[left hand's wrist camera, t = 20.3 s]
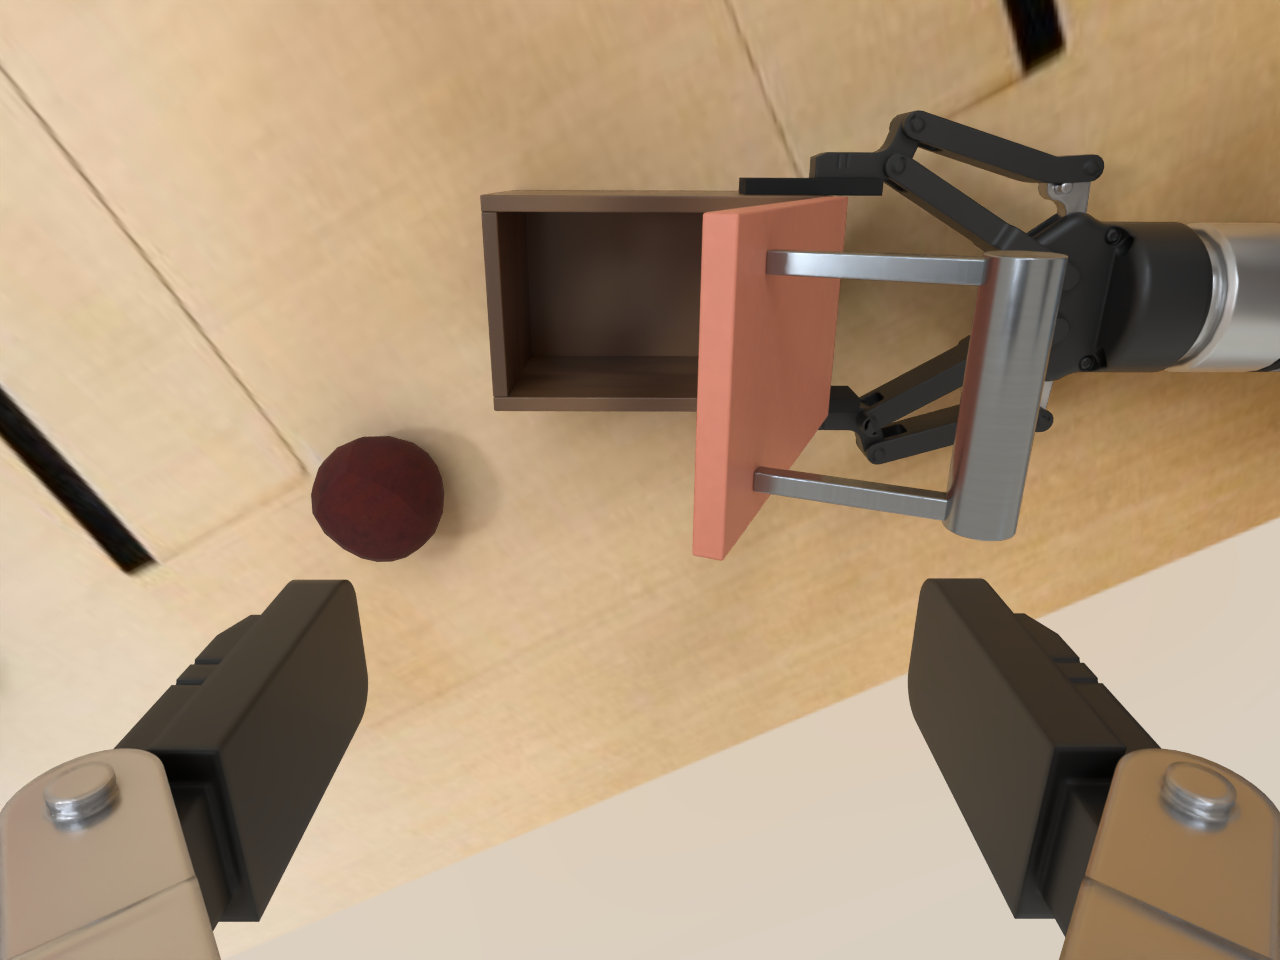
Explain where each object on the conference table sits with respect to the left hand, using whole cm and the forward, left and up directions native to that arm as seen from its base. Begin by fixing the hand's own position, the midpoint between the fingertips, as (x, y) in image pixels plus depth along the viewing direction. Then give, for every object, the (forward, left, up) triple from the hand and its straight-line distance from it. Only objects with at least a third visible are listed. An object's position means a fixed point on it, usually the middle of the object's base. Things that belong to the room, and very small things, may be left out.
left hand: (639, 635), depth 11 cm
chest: (-1, 0, -38) cm, 38 cm away
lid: (-3, +4, -20) cm, 21 cm away
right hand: (-3, +4, -32) cm, 32 cm away
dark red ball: (+19, -4, -38) cm, 43 cm away
